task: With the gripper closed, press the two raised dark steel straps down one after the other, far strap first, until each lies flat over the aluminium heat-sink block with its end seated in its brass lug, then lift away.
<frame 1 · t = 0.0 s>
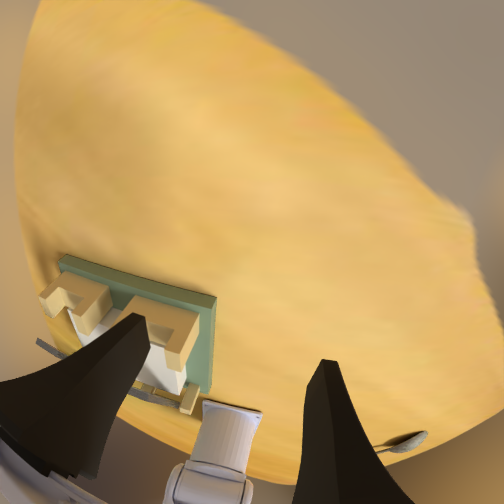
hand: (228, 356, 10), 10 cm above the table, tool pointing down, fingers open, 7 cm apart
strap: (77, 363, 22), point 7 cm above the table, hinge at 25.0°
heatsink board: (138, 326, 26), on the table
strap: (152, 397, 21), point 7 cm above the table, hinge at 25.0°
soupspoon: (371, 445, 35), on the table
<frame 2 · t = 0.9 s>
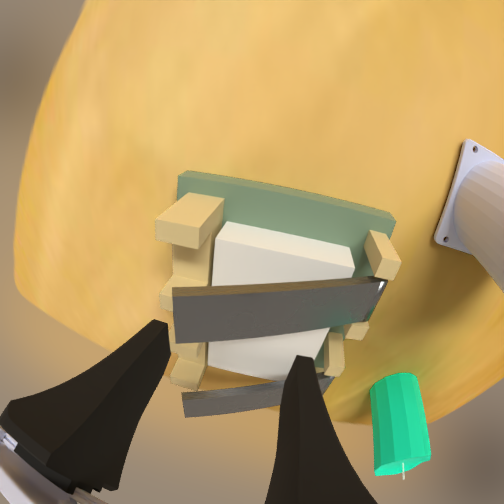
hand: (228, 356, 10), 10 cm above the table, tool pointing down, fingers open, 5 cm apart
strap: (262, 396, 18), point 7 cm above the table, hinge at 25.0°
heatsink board: (267, 292, 21), on the table
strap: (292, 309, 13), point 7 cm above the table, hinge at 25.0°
candle: (393, 386, 25), on the table
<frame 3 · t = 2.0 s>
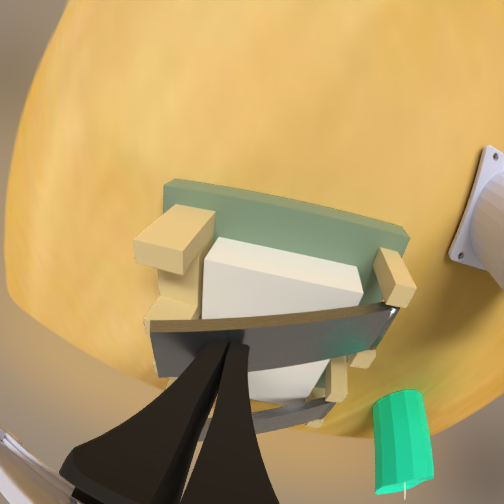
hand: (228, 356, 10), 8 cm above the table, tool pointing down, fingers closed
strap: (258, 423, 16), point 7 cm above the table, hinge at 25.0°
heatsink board: (265, 311, 19), on the table
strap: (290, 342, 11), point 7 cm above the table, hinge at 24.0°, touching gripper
candle: (397, 402, 23), on the table
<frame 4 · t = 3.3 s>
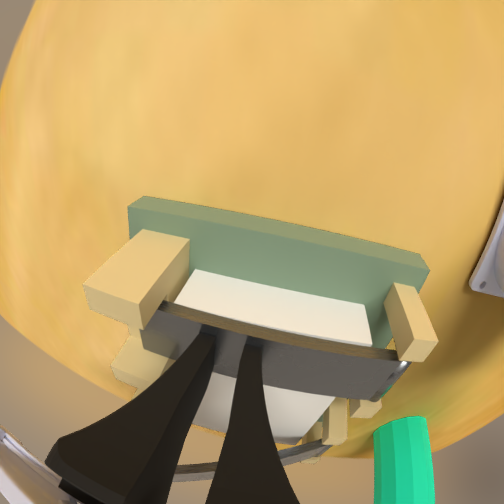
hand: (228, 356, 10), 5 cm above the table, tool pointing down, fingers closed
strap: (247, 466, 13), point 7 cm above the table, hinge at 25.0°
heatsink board: (255, 346, 16), on the table
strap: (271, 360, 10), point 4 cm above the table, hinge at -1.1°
candle: (399, 427, 20), on the table
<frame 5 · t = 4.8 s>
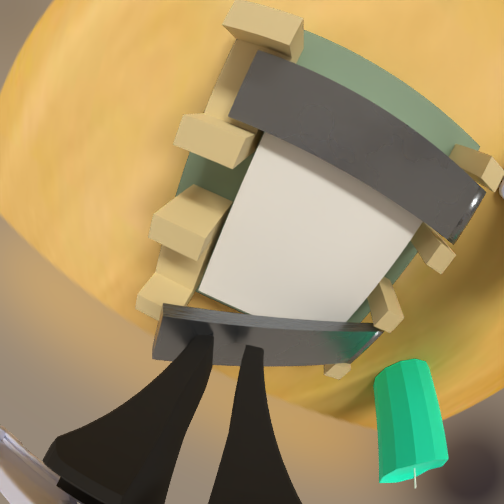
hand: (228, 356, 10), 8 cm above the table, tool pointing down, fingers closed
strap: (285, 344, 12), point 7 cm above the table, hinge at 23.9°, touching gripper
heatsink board: (309, 200, 15), on the table
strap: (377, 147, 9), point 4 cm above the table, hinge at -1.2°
candle: (401, 376, 22), on the table
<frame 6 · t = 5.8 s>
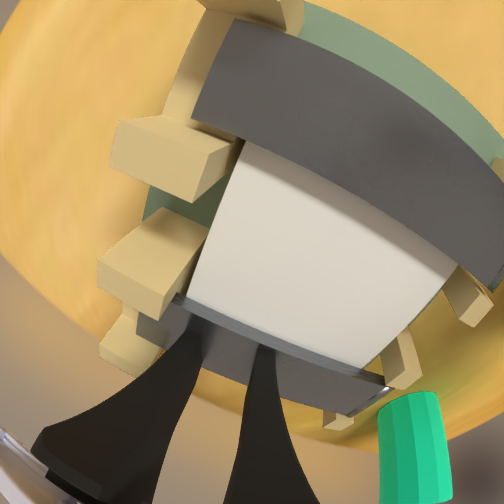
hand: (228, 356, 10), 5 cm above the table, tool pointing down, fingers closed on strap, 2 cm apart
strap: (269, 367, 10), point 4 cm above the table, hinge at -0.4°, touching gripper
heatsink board: (310, 225, 12), on the table
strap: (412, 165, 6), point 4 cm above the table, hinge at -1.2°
candle: (407, 406, 18), on the table
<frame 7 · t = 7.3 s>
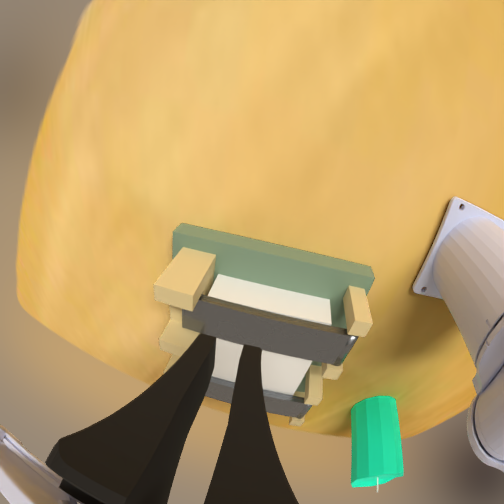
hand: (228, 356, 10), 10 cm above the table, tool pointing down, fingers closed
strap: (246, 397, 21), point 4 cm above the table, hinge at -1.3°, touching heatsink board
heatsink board: (256, 329, 23), on the table
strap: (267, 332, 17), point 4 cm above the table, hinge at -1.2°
candle: (373, 406, 27), on the table
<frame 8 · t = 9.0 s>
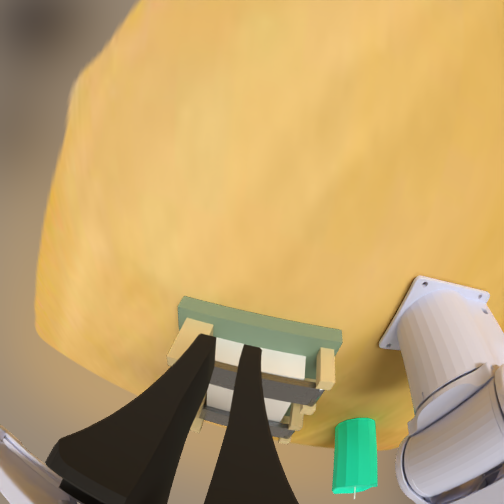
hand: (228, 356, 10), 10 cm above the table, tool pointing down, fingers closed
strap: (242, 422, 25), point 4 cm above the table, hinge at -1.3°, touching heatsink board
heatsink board: (249, 370, 27), on the table
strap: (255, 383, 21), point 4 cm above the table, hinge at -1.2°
candle: (355, 425, 31), on the table
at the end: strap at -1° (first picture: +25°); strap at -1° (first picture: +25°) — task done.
